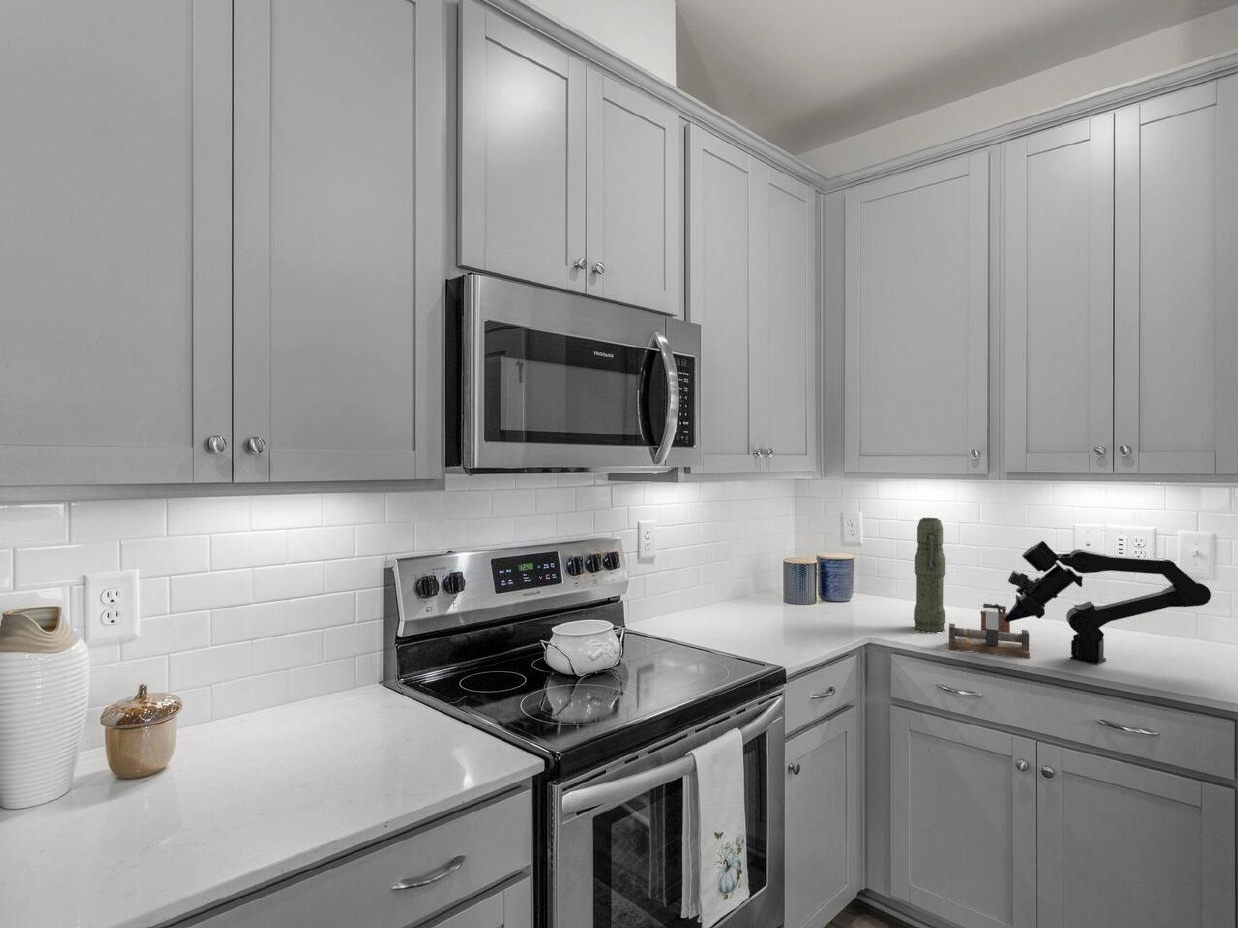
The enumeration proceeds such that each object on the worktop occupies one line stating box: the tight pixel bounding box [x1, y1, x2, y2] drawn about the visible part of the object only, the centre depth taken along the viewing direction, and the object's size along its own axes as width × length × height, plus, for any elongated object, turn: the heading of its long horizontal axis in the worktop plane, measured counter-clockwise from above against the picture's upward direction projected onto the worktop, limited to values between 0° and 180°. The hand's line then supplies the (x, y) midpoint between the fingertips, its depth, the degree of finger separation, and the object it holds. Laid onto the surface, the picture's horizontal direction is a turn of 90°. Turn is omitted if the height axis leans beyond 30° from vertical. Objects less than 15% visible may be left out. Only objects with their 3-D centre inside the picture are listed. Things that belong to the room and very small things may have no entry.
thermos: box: [913, 517, 946, 634], centre depth 230 cm, size 9×12×35 cm
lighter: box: [980, 603, 1011, 633], centre depth 220 cm, size 8×3×10 cm, turn 59°
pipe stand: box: [948, 622, 1031, 659], centre depth 206 cm, size 20×9×6 cm, turn 65°
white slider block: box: [985, 608, 999, 646], centre depth 206 cm, size 3×5×9 cm, turn 155°
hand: (1005, 620), depth 204 cm, fingers closed
